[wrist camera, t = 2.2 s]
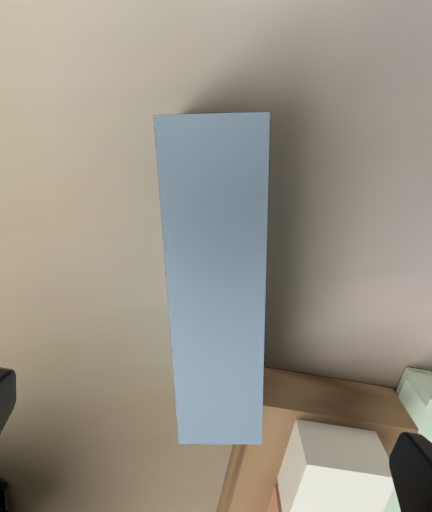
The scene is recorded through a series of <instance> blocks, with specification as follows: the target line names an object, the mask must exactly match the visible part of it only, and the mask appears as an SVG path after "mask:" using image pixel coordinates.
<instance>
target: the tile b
mask: <svg viewBox="0 0 432 512" xmlns="http://www.w3.org/2000/svg"><path fill="white" fill-rule="evenodd" d="M266 512H282V508H281V501H280V494H279V487H278V485H275V486H274V489H273V492H272V496H271V499H270V502H269V505H268V508H267V511H266Z"/></svg>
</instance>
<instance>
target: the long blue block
mask: <svg viewBox="0 0 432 512" xmlns="http://www.w3.org/2000/svg"><path fill="white" fill-rule="evenodd" d="M153 116H154V129H155V142H156V155H157V168H158V181H159V194H160V207H161V220H162V233H163V246H164V259H165V272H166V285H167V298H168V311H169V324H170V337H171V350H172V363H173V376H174V389H175V402H176V415H177V428H178V441H179V444H262V413H263V374H264V334H265V295H266V256H267V217H268V177H269V138H270V112H247V113H208V114H170V115H153Z"/></svg>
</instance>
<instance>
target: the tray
mask: <svg viewBox="0 0 432 512" xmlns="http://www.w3.org/2000/svg"><path fill="white" fill-rule="evenodd" d="M395 393H396V394H397V396H398V397H399V399H400V401H401V402H402V404H403V405H404V407H405V409H406V410H407V412H408V413H409V415H410V417H411V418H412V420H413V421H414V423H415V424H416V426H417V428H418V429H419V431H418V434H421V435H423V436H424V437H425V438H427V439H428V440H429V441H430V442H431V443H432V371H429V370H422V369H416V368H410V367H406V368H405V371H404V373H403V375H402V378H401V380H400V382H399V385H398V387H397V389H396V392H395ZM383 512H401V510H400V506H399V502H398V499H397V495H396V491H395V487H394V489H393V491H392V493H391V495H390V497H389V500H388V502H387V504H386V506H385V508H384V510H383Z"/></svg>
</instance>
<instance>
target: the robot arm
mask: <svg viewBox="0 0 432 512" xmlns="http://www.w3.org/2000/svg"><path fill="white" fill-rule="evenodd" d="M15 403H16V373H15V371H14V370H12V369H8V368H1V367H0V433H1V431H2V430H3V428H4V426H5V424H6V422H7V420H8V418H9V416H10V414H11V413H12V411H13V409H14V406H15ZM389 468H390V472H391V476H392V480H393V483H394V487H395V491H396V495H397V499H398V502H399V506H400V510H401V512H432V443H431V442H430V441H429V440H428V439H427V438H425V437H424V436H423V435H421V434H418V433H413V432H407V431H404V432H402V433H400V435H399V436H398V439H397V441H396V443H395V445H394V447H393V450H392V452H391V454H390V457H389ZM0 512H9V498H8V486H7V485H6V484H5V483H4V482H1V481H0Z"/></svg>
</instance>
